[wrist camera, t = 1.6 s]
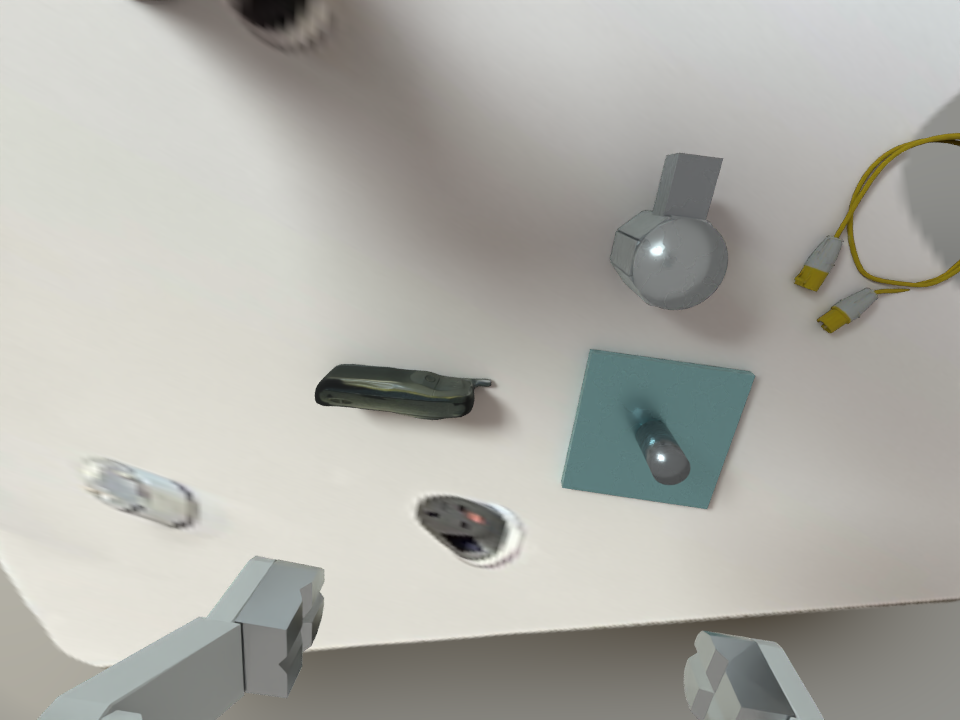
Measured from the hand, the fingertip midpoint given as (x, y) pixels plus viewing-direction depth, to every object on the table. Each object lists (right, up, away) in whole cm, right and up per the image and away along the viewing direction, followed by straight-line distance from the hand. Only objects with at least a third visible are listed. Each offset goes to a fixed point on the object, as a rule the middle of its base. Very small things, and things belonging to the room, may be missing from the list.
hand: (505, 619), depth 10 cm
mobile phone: (-7, +4, +34) cm, 35 cm away
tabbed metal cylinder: (+13, +16, +27) cm, 34 cm away
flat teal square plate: (+15, -1, +34) cm, 37 cm away
